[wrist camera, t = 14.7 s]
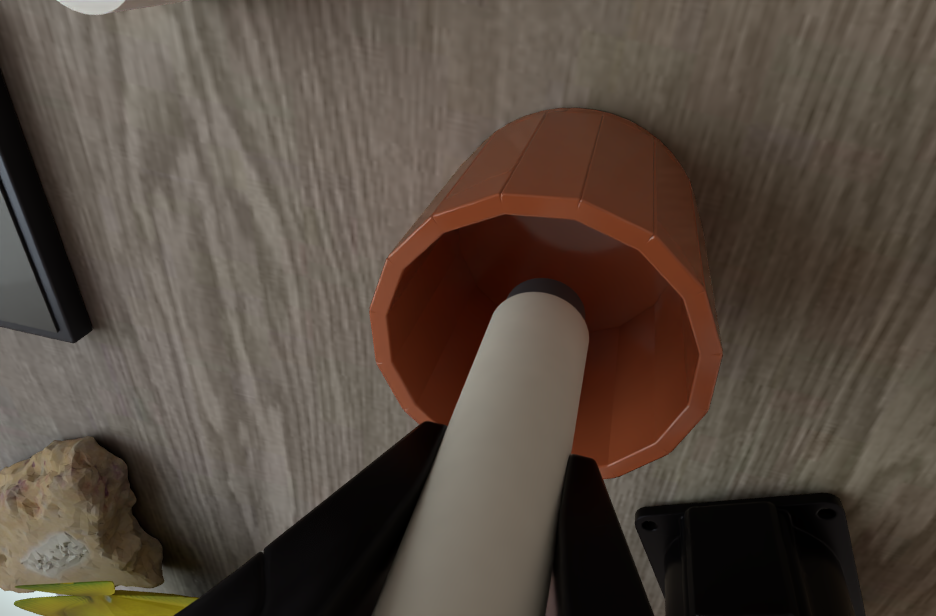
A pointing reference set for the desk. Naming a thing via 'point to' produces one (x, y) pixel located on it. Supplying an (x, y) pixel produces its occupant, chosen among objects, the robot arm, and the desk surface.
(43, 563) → the stone
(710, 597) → the robot arm
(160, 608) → the fish
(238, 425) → the desk surface
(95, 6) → the u-slot mount
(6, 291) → the tablet
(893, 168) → the desk surface
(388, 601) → the plain white cylinder
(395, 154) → the desk surface
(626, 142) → the pen cup
